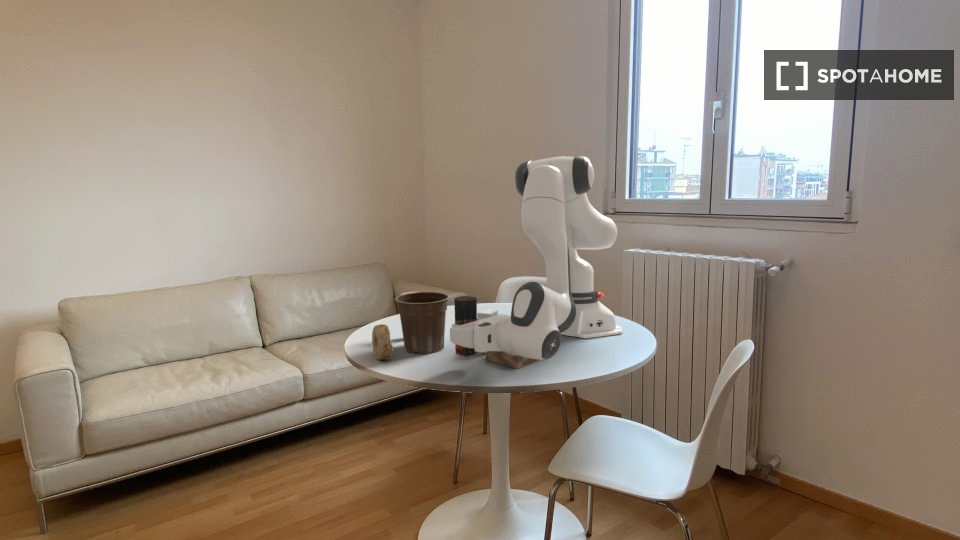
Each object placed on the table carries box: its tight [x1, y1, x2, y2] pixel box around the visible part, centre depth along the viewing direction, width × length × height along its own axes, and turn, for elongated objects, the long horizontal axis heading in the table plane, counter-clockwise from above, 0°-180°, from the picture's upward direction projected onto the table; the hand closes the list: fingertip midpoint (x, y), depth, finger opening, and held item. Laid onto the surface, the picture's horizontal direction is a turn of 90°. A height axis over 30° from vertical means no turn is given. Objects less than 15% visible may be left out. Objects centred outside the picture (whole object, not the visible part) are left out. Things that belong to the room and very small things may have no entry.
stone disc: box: [371, 323, 394, 361], centre depth 156 cm, size 10×4×10 cm, turn 29°
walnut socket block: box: [484, 351, 539, 369], centre depth 155 cm, size 12×12×4 cm
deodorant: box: [454, 295, 478, 357], centre depth 145 cm, size 6×6×15 cm
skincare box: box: [477, 308, 499, 319], centre depth 163 cm, size 6×4×12 cm
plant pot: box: [394, 291, 450, 355], centre depth 166 cm, size 16×16×16 cm
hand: (463, 324), depth 146 cm, fingers closed on deodorant, 6 cm apart
